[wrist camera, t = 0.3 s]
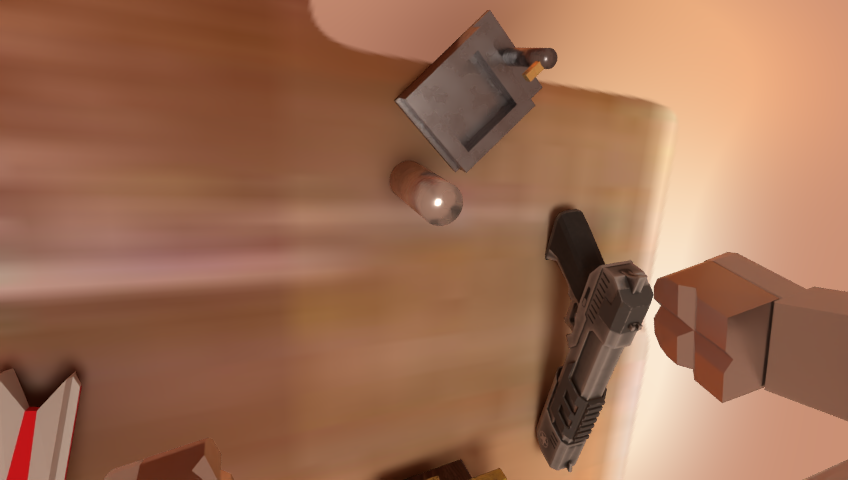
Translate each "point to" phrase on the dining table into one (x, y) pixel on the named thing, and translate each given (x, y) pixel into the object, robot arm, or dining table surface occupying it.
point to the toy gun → (36, 430)
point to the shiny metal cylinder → (426, 193)
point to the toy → (457, 473)
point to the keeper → (475, 92)
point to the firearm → (588, 335)
